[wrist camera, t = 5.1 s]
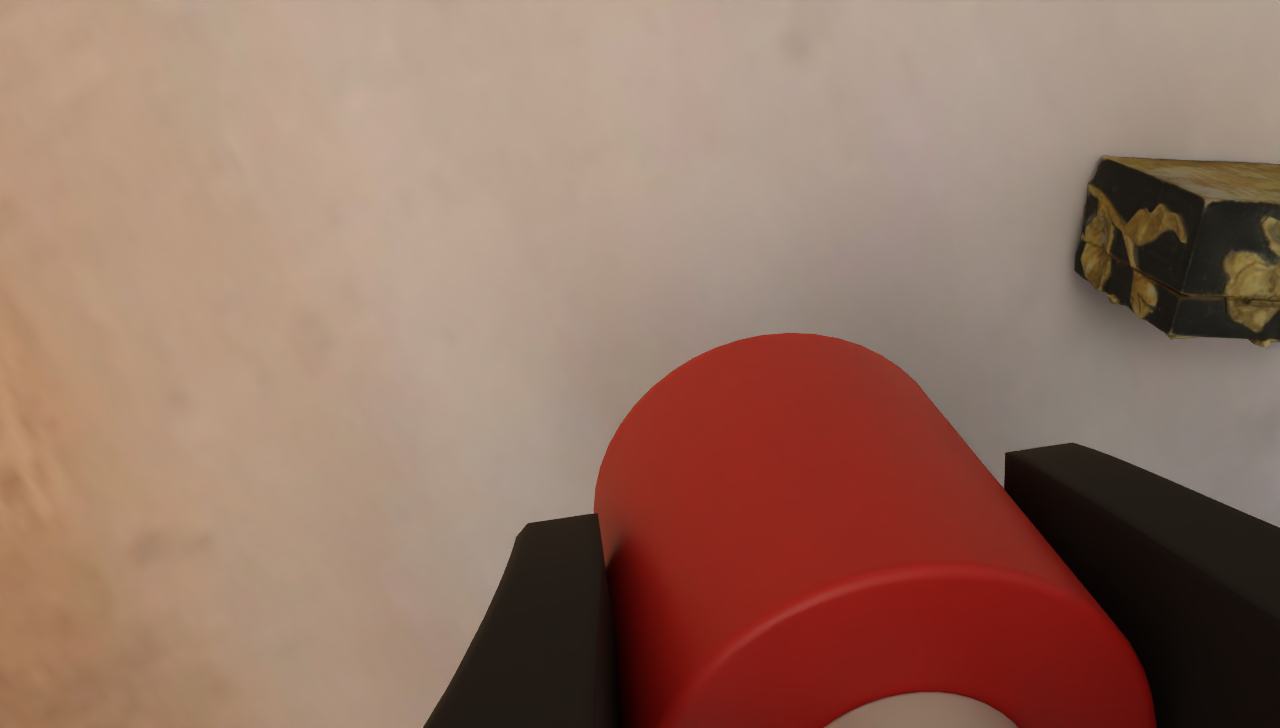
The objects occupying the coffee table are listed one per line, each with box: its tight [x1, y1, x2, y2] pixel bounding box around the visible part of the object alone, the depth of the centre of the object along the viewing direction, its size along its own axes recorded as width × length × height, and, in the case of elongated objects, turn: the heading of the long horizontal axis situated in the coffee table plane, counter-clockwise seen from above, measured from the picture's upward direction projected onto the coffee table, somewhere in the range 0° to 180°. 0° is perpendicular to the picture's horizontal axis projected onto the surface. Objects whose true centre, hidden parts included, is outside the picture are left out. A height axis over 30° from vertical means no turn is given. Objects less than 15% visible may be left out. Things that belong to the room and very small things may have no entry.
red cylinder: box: [594, 333, 1157, 728], centre depth 9 cm, size 4×4×5 cm
